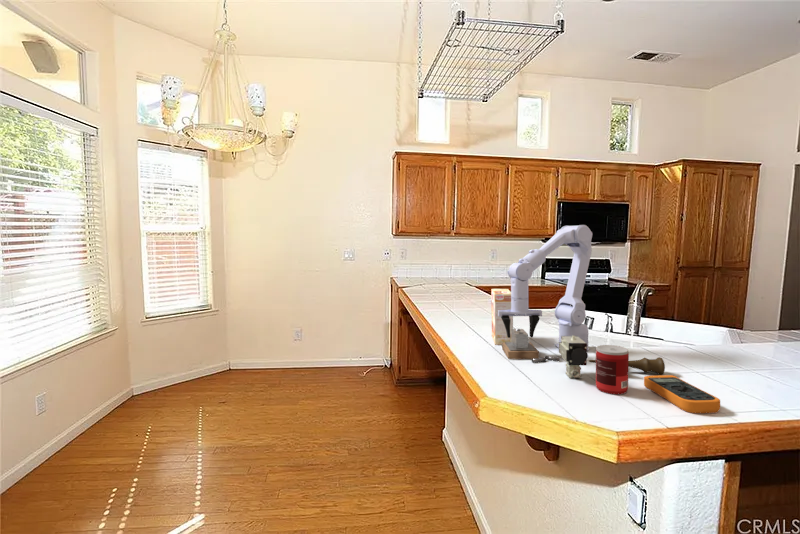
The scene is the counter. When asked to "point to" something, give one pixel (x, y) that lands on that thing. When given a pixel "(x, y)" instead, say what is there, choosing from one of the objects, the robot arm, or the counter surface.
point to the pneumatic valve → (573, 354)
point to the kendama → (647, 365)
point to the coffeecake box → (500, 302)
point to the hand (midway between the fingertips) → (519, 336)
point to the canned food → (612, 369)
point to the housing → (519, 338)
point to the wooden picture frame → (520, 351)
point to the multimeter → (682, 394)
